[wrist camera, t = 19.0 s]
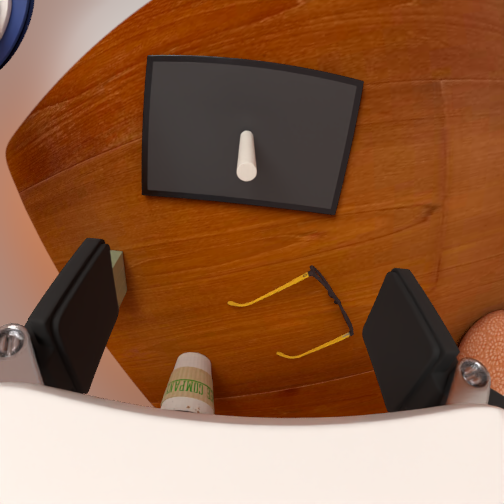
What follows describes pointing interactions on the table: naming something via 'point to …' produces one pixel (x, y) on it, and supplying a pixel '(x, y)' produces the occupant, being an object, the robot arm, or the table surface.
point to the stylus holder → (119, 274)
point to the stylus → (246, 157)
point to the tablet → (246, 119)
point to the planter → (487, 346)
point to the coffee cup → (190, 385)
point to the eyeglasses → (331, 294)
